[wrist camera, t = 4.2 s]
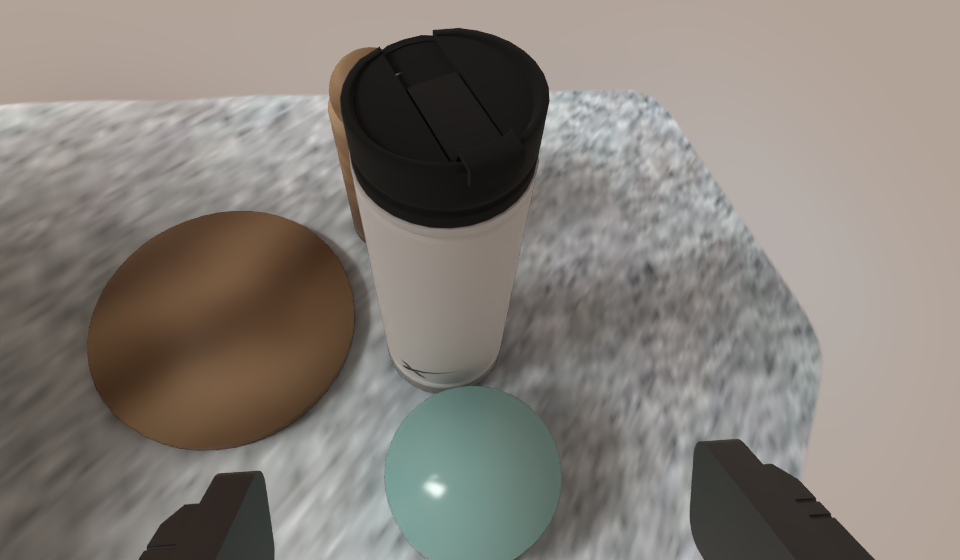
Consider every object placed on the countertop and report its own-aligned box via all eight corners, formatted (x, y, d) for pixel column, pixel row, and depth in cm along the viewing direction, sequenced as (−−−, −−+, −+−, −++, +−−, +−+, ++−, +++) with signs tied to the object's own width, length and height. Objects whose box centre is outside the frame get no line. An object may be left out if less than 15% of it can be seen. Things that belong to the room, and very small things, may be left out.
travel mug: (419, 420, 34) (391, 206, 16) (371, 317, 37) (302, 36, 19) (523, 371, 35) (601, 126, 18) (469, 275, 38) (491, -21, 20)
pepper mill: (338, 222, 39) (296, 62, 28) (388, 178, 41) (367, 11, 30) (391, 263, 38) (369, 114, 27) (440, 216, 40) (439, 57, 29)
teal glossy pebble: (358, 494, 32) (346, 479, 29) (463, 379, 35) (465, 353, 32) (478, 612, 30) (483, 611, 26) (580, 478, 33) (596, 462, 29)
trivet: (40, 336, 35) (32, 330, 34) (240, 179, 40) (237, 172, 40) (210, 509, 31) (205, 507, 31) (406, 312, 37) (405, 306, 36)
